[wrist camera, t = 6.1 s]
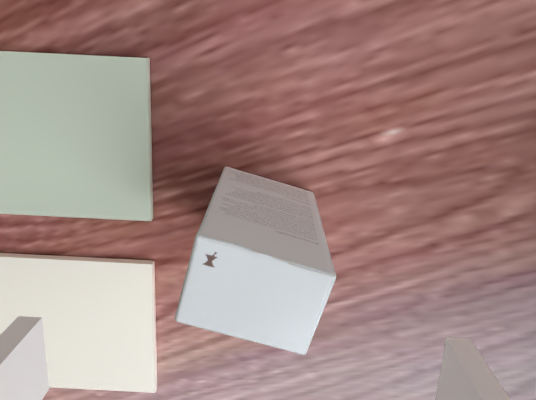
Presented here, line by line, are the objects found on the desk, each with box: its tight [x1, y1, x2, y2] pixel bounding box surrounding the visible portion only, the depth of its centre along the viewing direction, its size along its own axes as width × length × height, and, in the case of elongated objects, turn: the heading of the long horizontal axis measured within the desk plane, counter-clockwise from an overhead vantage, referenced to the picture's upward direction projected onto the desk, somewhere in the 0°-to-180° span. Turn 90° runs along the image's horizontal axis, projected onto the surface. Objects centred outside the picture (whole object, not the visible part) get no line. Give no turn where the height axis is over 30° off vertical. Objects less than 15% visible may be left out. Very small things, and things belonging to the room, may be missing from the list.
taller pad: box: [0, 253, 157, 393], centre depth 34 cm, size 12×10×1 cm
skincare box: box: [175, 166, 336, 355], centre depth 26 cm, size 6×4×12 cm
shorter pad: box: [0, 51, 153, 221], centre depth 30 cm, size 12×10×1 cm
